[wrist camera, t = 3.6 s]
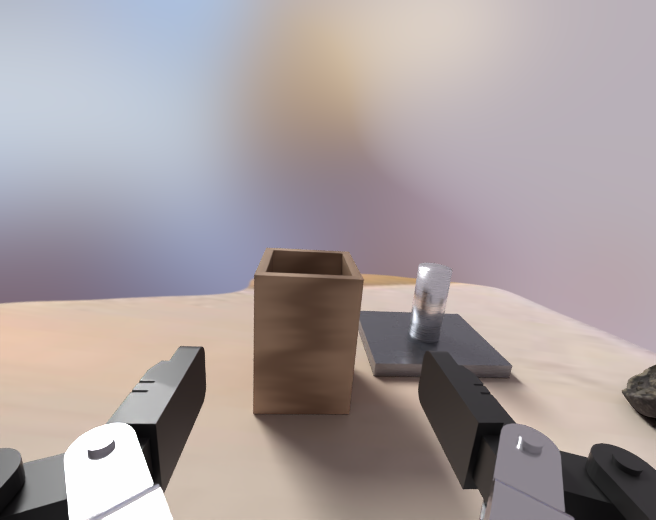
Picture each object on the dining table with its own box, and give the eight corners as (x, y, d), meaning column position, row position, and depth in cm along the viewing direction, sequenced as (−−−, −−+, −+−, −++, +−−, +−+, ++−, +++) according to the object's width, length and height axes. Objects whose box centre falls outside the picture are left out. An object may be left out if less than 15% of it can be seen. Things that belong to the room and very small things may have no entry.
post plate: (373, 375, 27) (385, 284, 24) (355, 320, 36) (362, 250, 34) (509, 377, 28) (532, 289, 25) (456, 323, 37) (469, 256, 35)
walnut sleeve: (253, 413, 22) (254, 274, 19) (264, 357, 28) (266, 247, 25) (349, 413, 22) (363, 279, 20) (338, 359, 29) (348, 251, 26)
